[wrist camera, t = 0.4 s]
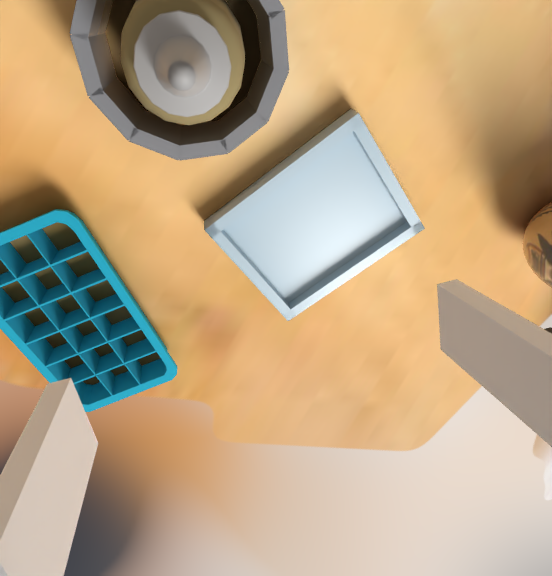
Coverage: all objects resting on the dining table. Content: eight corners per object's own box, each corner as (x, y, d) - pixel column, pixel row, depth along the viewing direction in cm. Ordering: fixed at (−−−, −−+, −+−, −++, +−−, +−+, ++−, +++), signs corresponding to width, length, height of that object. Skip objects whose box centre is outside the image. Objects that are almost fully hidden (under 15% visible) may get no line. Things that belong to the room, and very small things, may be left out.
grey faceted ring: (195, -113, 29) (196, -141, 24) (304, 67, 36) (324, 77, 30) (52, 23, 32) (23, 26, 26) (179, 168, 38) (176, 194, 33)
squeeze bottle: (106, 45, 33) (34, 75, 18) (178, -49, 31) (167, -105, 16) (191, 126, 37) (192, 207, 22) (261, 47, 35) (316, 76, 20)
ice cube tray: (85, 395, 50) (79, 415, 47) (-47, 243, 39) (-63, 259, 36) (182, 357, 49) (182, 375, 47) (76, 192, 38) (68, 205, 36)
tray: (351, 108, 38) (358, 112, 36) (416, 220, 45) (424, 228, 43) (203, 221, 41) (204, 230, 39) (284, 310, 48) (288, 321, 46)
